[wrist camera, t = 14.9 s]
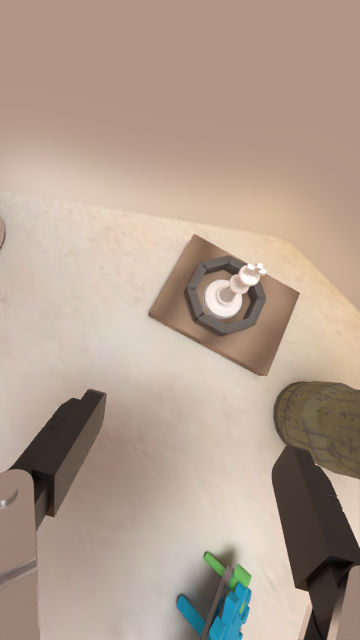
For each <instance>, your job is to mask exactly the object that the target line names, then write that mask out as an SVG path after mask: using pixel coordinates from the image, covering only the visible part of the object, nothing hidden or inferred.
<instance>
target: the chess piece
mask: <svg viewBox="0 0 360 640" xmlns="http://www.w3.org/2000/svg"><path fill="white" fill-rule="evenodd" d="M262 267H263V264H260V263H258V264H257V265H255V266H254V265H251V264H247V265H245V266H243V267H242V268H241V269H240V271H239V274H236V275H234V276H232V277H231V279H230V281H228V280H216V281H214V282H212V283H210V284H209V285H208V286H207V287H206V289H205V290H204V293H203V304H204V306H205V308H206V310H207V311H208V312H209V313H210V314H211V315H212V316H214V317H216V318H220V319H227V318H230V317H232V316H234V315H235V314H236V313H237V312H238V311H239V309H240V308H241V305H242V295H241V294H244V293H246V292H247V291H248V289H249V286H253V285H255V284H257V283H258V281H259V279H260V276H264V275H265V273H266V270H265V269H262Z"/></svg>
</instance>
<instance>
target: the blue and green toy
mask: <svg viewBox="0 0 360 640" xmlns="http://www.w3.org/2000/svg"><path fill="white" fill-rule="evenodd" d="M204 560H205V561H206V562H207V563H208V564H209V565H210V566H211V567H212V568H213V569H214V570H215V571H216V572H217V573H218V574H219V575H220V576H221V577H222V579H221V582H220V585H219V588H218V590H217V593H216V596H215V599H214V601H213V604H212V607H211V609H210V612H209V615H208V618H207V620H206V622H205V621H204V620H203V618H202V617H201V616H200V615H199V614H198V612H197V611H196V610H195V609H194V608H193V606H192V605H191V604H190V603H189V602H188V600H187V599H186V598H185V597H184V596H183V595H182V596H181V597H180V599H179V600H178V603H177V608H178V609H179V610H180V612H181V613H182V614H183V616H184V617H185V618H186V619H187V621H188V622H189V623H190V624H191V626H192V627H193V628H194V629H195V631H196V632H197V633H198V635H199V636H200V640H241V639H242V636H243V634H242V633H241V632H240V631H239V630H240V627H241V625H242V623H243V624H245V622H246V620H247V617H248V613H249V609H250V608H249V607H248V606H247V605H248V604H249V601H250V598H251V590H250V589H249V588H248V585H249V583H250V580H251V575H250V574H249V573H248V572H247V571H246V570H245V569H244V568H242V567H241V566H240V565H239V564H238V565H237V567H236V569H235V570H234V569H233V568H232V567H231V566H230V565H228V566H227V568H226V569H225V568H224V567H223V566H222V565H221V564H220V563H219V562H218V561H217V560H216V559H215V558H214V557H213V556H212V555H211V554H210V553H209V552H207V553H206V555H205V558H204ZM230 588H231V592H230V593H229V594H228V596H227V598H226V601H225V604H224V610H223V614H222V618H221V619H220V617H219V616H218V614H219V611H220V609H221V606H222V603H223V600H224V597H225V595H226V592H227V590H229V589H230Z"/></svg>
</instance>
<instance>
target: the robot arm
mask: <svg viewBox="0 0 360 640" xmlns="http://www.w3.org/2000/svg"><path fill="white" fill-rule="evenodd" d="M4 234H5V229H4V223H3V221H2V219H1V217H0V247H1V245H2V243H3V240H4ZM106 396H107V394H106V393H104V392H100V391H96V390H93V389H88V390H87V392H86V393H85V394H84V396H83V397H82V399H81V400H79V399H76V398H71V399H70V400H68V401H67V402H65V403H64V404H62V405H61V406H60V407H59V408H58V409H57V411H56V412H55V413H54V415H53V416H52V418H50V420H49V421H48V422H47V423H46V425H45V427H43V428H42V430H41V431H40V432H39V433H38V435H37V436H36V437H35V438H34V440H33V441H32V442H31V443H30V445H29V446H28V447H27V449H26V450H25V451H24V452H23V454H22V455H21V456H20V457H19V459H18V460H17V461H16V462H15V463H14V465H13V466H12V467H10V468H9V469H8V470H7V471H5V472H2V473H0V640H41V638H40V615H39V592H38V567H37V542H36V531H37V529H38V527H39V526H40V524H41V522H42V520H43V518H44V517H45V515H48V516H51V517H55V515H56V513H57V511H58V509H59V507H60V505H61V504H62V502H63V500H64V498H65V496H66V494H67V492H68V490H69V488H70V486H71V484H72V482H73V481H74V479H75V477H76V475H77V473H78V471H79V469H80V467H81V465H82V463H83V461H84V460H85V458H86V456H87V454H88V452H89V450H90V448H91V446H92V444H93V442H94V440H95V438H96V437H97V435H98V433H99V431H100V428H101V426H102V422H103V419H104V412H105V404H106ZM272 484H273V488H274V493H275V497H276V502H277V506H278V511H279V516H280V520H281V525H282V529H283V534H284V539H285V543H286V548H287V552H288V557H289V561H290V566H291V571H292V575H293V580H294V584H295V588H297V589H301V590H304V591H308V592H309V595H310V599H311V602H310V604H309V605H308V607H307V610H306V614H305V617H304V620H303V623H302V627H301V630H300V633H299V637H298V640H360V548H359V546H358V543H357V541H356V539H355V536H354V534H353V532H352V529H351V527H350V525H349V523H348V520H347V518H346V516H345V513H344V512H343V511H342V507H341V504H340V502H339V500H338V499H337V495H336V493H335V491H334V488H333V486H332V484H331V481H330V480H329V478H328V477H327V476H326V474H325V473H324V472H323V470H322V469H321V468H320V467H319V466H316V465H315V463H314V460H313V458H312V456H311V453H310V452H309V450H307V449H305V448H301V447H298V446H294V445H290V444H288V445H287V446H286V447H285V448H284V450H283V452H282V453H281V455H280V456H279V458H278V459H277V461H276V463H275V464H274V466H273V469H272Z"/></svg>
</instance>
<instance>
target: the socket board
mask: <svg viewBox="0 0 360 640" xmlns="http://www.w3.org/2000/svg"><path fill="white" fill-rule="evenodd" d="M245 265H247V263H245V262H244V261H242V260H240V259H238V258H236V257H235V256H233V255H231V254H229V253H228V252H226V251H224V250H222V249H220V248H219V247H217V246H215V245H213V244H212V243H210V242H208V241H206V240H204V239H203V238H201V237H199V236H197V235H195V234H194V235H193V237H192V238H191V240H190V242H189V244H188V245H187V247H186V249H185V251H184V252H183V254H182V256H181V257H180V259H179V261H178V263H177V264H176V266H175V268H174V270H173V271H172V273H171V275H170V277H169V278H168V280H167V282H166V284H165V285H164V287H163V289H162V291H161V292H160V294H159V296H158V298H157V299H156V301H155V303H154V305H153V306H152V308H151V310H150V312H149V316H150V317H152V318H154V319H156V320H157V321H159V322H161V323H163V324H165V325H167V326H169V327H170V328H172V329H174V330H176V331H178V332H180V333H181V334H183V335H185V336H187V337H189V338H191V339H193V340H194V341H196V342H198V343H200V344H202V345H204V346H206V347H207V348H209V349H211V350H213V351H215V352H217V353H218V354H220V355H222V356H224V357H226V358H228V359H230V360H231V361H233V362H235V363H237V364H239V365H241V366H243V367H244V368H246V369H248V370H250V371H252V372H254V373H255V374H257V375H259V376H267V375H268V372H269V370H270V367H271V365H272V362H273V360H274V357H275V355H276V352H277V350H278V347H279V345H280V342H281V339H282V337H283V334H284V332H285V329H286V327H287V324H288V322H289V319H290V317H291V314H292V312H293V309H294V307H295V304H296V302H297V299H298V297H299V294H300V293H299V292H297V291H295V290H294V289H292V288H290V287H288V286H286V285H285V284H283V283H281V282H279V281H278V280H276V279H274V278H272V277H270V276H269V275H267V274H265V275H264V276H260V279H259V281H258V283H257V284H255V285H253V286H249V289H248V291H247V292H246V293H244V294H241V295H242V305H241V308H240V309H239V311H238V312H237V313H236V314H235V315H234V316H232V317H230V318H227V319H220V318H216V317H214V316H212V315H211V314H210V313H209V312H208V311H207V310H206V308H205V306H204V304H203V293H204V290H205V289H206V287H207V286H208V285H209V284H210V283H212V282H214V281H216V280H228V281H230V279H231V277H232V276H234V275H236V274H239V271H240V269H241V268H242V267H243V266H245Z"/></svg>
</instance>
